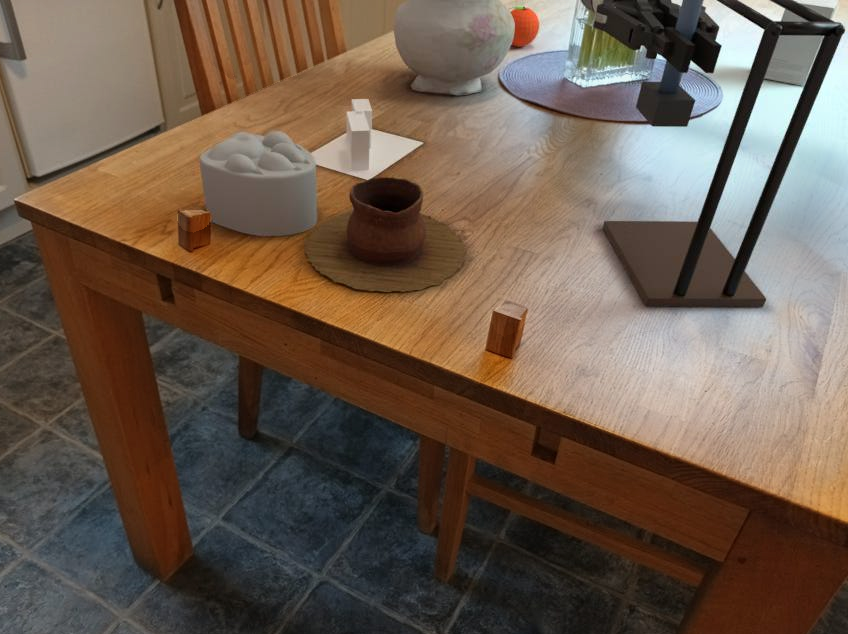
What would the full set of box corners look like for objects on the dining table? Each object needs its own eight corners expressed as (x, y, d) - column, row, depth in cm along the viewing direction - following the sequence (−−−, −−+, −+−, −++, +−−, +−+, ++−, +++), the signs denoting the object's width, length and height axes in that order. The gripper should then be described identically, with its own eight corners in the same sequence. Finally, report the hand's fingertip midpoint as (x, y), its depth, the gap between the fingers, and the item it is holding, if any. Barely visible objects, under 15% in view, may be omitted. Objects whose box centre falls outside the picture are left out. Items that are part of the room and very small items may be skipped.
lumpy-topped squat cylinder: (247, 184, 91) (240, 117, 86) (335, 208, 87) (335, 139, 81) (195, 218, 84) (185, 147, 79) (289, 246, 80) (285, 173, 74)
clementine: (489, 45, 141) (493, 5, 136) (507, 37, 145) (513, -1, 140) (524, 53, 137) (530, 13, 132) (542, 45, 141) (549, 6, 136)
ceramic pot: (396, 315, 70) (400, 252, 66) (271, 251, 79) (266, 192, 74) (497, 245, 81) (505, 188, 76) (376, 196, 89) (378, 142, 85)
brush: (611, 107, 84) (653, -73, 73) (692, 107, 85) (746, -71, 73) (627, 126, 80) (674, -63, 68) (712, 127, 80) (773, -61, 68)
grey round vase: (426, 63, 134) (426, -93, 119) (528, 71, 127) (542, -94, 112) (377, 100, 119) (369, -74, 104) (490, 111, 112) (499, -74, 97)
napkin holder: (369, 180, 93) (370, 137, 89) (298, 160, 97) (296, 118, 94) (424, 142, 103) (427, 102, 99) (357, 125, 107) (358, 86, 104)
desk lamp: (600, 224, 85) (662, -25, 68) (699, 225, 85) (786, -23, 69) (645, 306, 72) (737, 24, 55) (763, 306, 72) (889, 26, 56)
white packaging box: (803, 86, 125) (835, 8, 117) (758, 78, 128) (786, 1, 120) (810, 75, 130) (840, -1, 122) (766, 67, 133) (793, -8, 125)
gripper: (680, 34, 94) (760, 97, 75) (566, 32, 93) (618, 95, 75) (698, -30, 89) (788, 20, 71) (577, -32, 89) (636, 18, 70)
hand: (700, 59), depth 73 cm, fingers closed on brush, 2 cm apart
